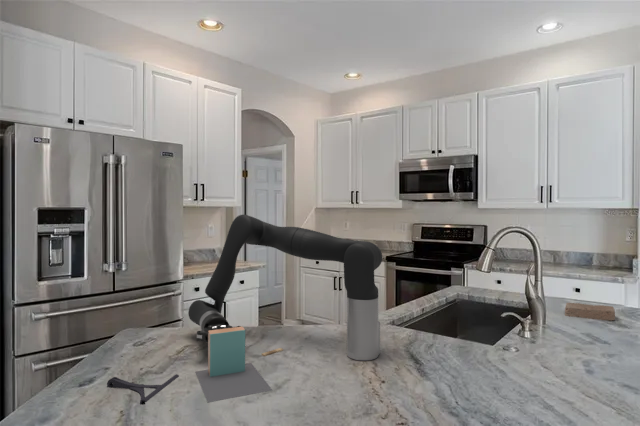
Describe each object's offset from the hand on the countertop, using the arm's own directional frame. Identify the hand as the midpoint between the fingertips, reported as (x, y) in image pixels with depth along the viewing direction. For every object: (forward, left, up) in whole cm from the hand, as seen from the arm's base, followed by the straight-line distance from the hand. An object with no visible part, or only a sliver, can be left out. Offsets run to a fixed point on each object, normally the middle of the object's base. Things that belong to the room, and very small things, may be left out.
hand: (225, 342), depth 111 cm
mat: (+2, +7, -8) cm, 11 cm away
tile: (0, +1, -7) cm, 7 cm away
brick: (-133, +52, -9) cm, 143 cm away
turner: (-14, -2, -8) cm, 16 cm away
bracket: (+20, -7, -9) cm, 23 cm away
